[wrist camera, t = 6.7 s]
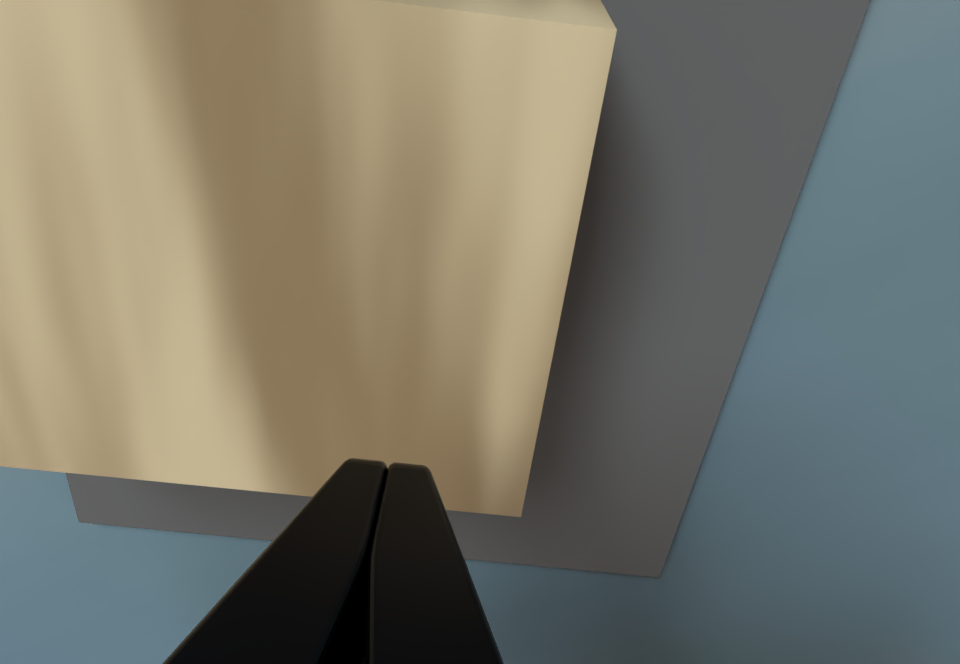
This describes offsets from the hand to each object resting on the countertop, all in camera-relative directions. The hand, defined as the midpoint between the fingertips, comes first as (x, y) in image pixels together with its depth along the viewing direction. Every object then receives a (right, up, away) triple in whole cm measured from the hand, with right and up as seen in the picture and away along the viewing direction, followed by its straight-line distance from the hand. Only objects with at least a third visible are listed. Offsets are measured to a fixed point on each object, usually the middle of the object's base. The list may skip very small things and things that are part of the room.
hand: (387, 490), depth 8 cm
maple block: (+2, +3, +5) cm, 6 cm away
